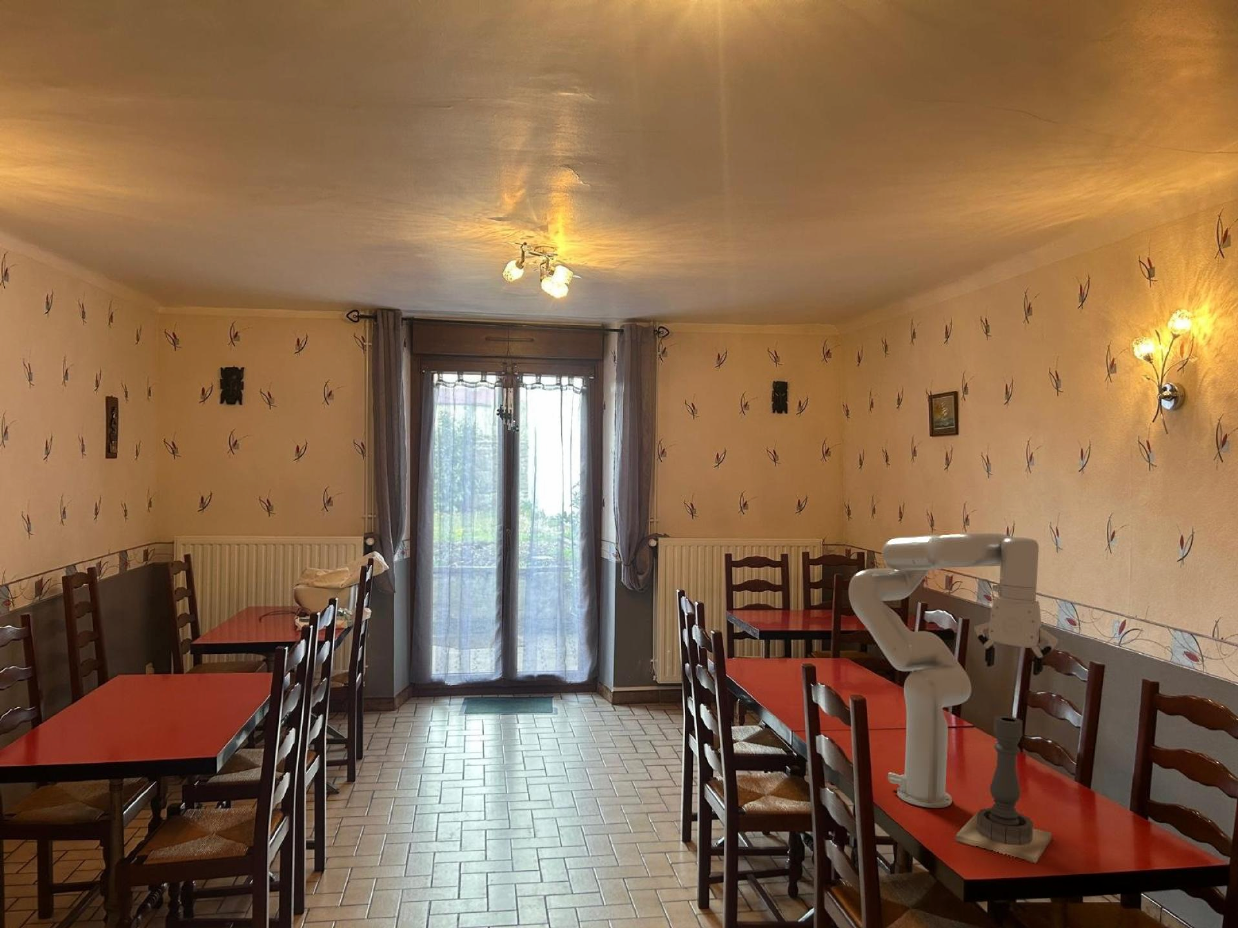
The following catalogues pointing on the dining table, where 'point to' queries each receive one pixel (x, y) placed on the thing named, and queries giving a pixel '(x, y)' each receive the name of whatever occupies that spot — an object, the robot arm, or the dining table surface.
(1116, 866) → the dining table surface
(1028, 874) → the dining table surface
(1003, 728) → the dark grey pepper mill
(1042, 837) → the collar base
